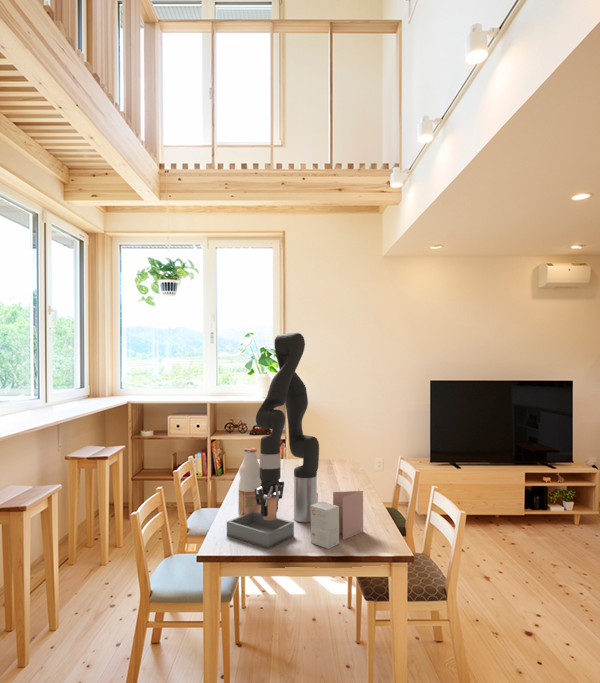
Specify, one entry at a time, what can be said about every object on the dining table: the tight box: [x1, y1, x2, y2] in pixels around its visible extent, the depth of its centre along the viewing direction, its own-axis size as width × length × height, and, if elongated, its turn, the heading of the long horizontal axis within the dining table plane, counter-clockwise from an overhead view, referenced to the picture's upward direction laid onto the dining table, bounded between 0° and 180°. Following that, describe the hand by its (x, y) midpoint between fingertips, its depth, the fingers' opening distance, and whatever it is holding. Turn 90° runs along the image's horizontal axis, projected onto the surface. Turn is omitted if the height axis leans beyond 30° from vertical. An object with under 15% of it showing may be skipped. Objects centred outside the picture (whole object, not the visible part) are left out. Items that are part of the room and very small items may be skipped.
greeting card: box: [332, 490, 364, 540], centre depth 165 cm, size 11×7×15 cm, turn 98°
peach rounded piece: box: [262, 496, 278, 520], centre depth 160 cm, size 5×5×7 cm
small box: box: [310, 501, 340, 550], centre depth 158 cm, size 8×6×13 cm
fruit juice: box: [237, 447, 261, 517], centre depth 182 cm, size 9×9×28 cm
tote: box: [226, 511, 295, 550], centre depth 164 cm, size 14×20×5 cm
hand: (269, 513), depth 160 cm, fingers closed on peach rounded piece, 5 cm apart
